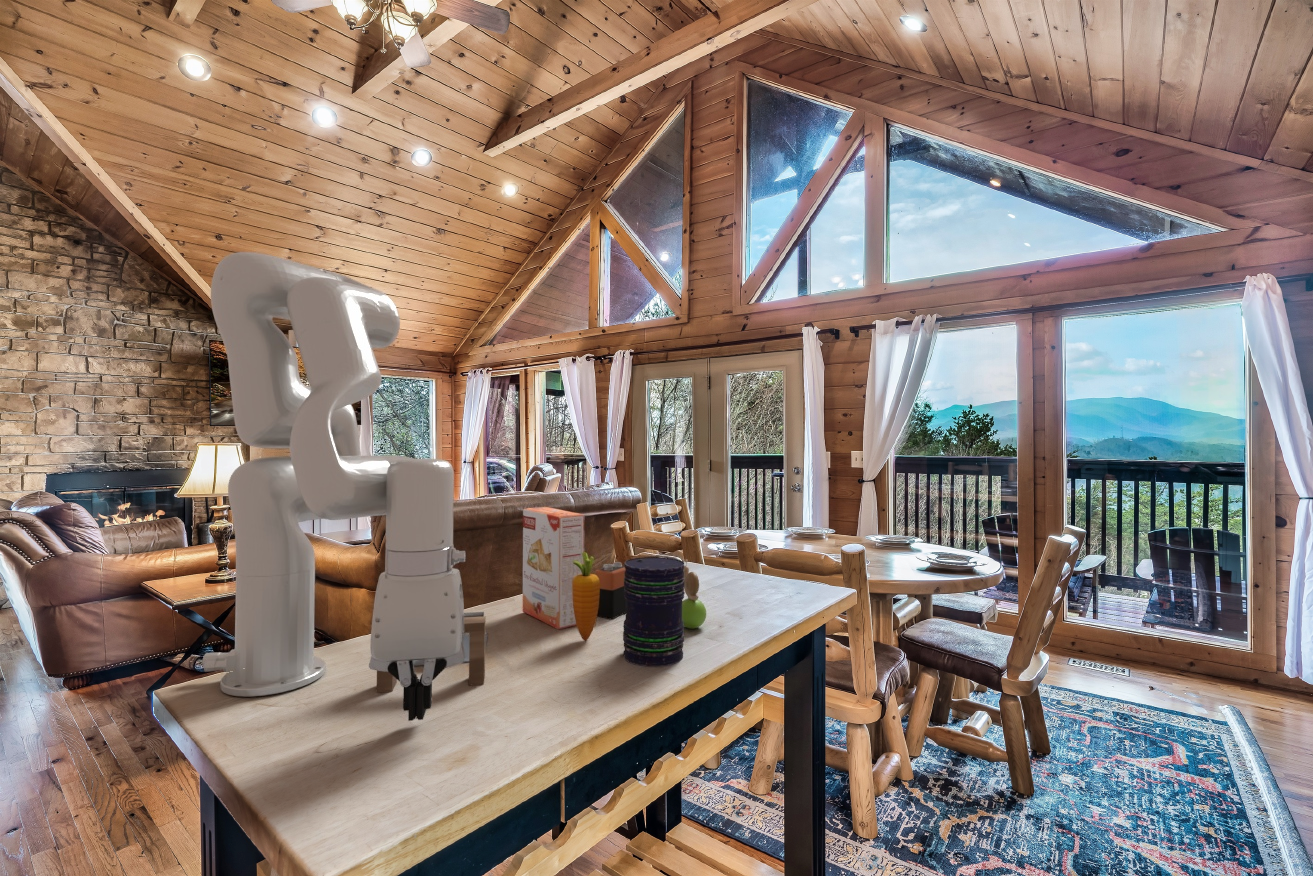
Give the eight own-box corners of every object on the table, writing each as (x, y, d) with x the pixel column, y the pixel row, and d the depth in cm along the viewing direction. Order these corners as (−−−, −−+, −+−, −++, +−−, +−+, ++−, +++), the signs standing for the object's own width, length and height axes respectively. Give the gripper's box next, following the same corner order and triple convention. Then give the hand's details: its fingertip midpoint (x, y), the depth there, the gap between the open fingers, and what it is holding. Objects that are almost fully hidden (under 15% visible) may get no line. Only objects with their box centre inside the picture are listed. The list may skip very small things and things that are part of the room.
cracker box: (520, 613, 119) (521, 507, 119) (546, 607, 123) (548, 506, 123) (556, 630, 108) (558, 515, 108) (584, 624, 112) (586, 512, 112)
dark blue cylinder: (695, 653, 98) (696, 561, 98) (662, 672, 90) (663, 572, 90) (645, 641, 103) (646, 554, 104) (610, 657, 95) (611, 563, 95)
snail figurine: (696, 620, 115) (697, 558, 116) (711, 630, 110) (712, 565, 110) (670, 623, 114) (671, 560, 114) (684, 633, 108) (684, 567, 108)
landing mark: (393, 667, 90) (394, 666, 90) (409, 639, 103) (409, 638, 103) (483, 661, 93) (483, 660, 93) (487, 634, 106) (487, 633, 106)
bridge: (483, 684, 84) (484, 622, 84) (376, 692, 81) (377, 628, 81) (484, 676, 87) (485, 616, 87) (381, 683, 84) (382, 621, 84)
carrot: (594, 646, 100) (595, 557, 100) (566, 644, 101) (567, 555, 101) (603, 637, 105) (604, 551, 105) (576, 635, 106) (577, 550, 106)
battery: (593, 616, 117) (594, 565, 117) (612, 608, 123) (613, 559, 123) (612, 620, 115) (612, 568, 115) (630, 611, 121) (631, 562, 121)
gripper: (486, 554, 77) (484, 696, 77) (360, 557, 74) (357, 707, 74) (482, 566, 70) (480, 724, 70) (342, 571, 66) (340, 736, 66)
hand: (417, 714), depth 72 cm, fingers closed
